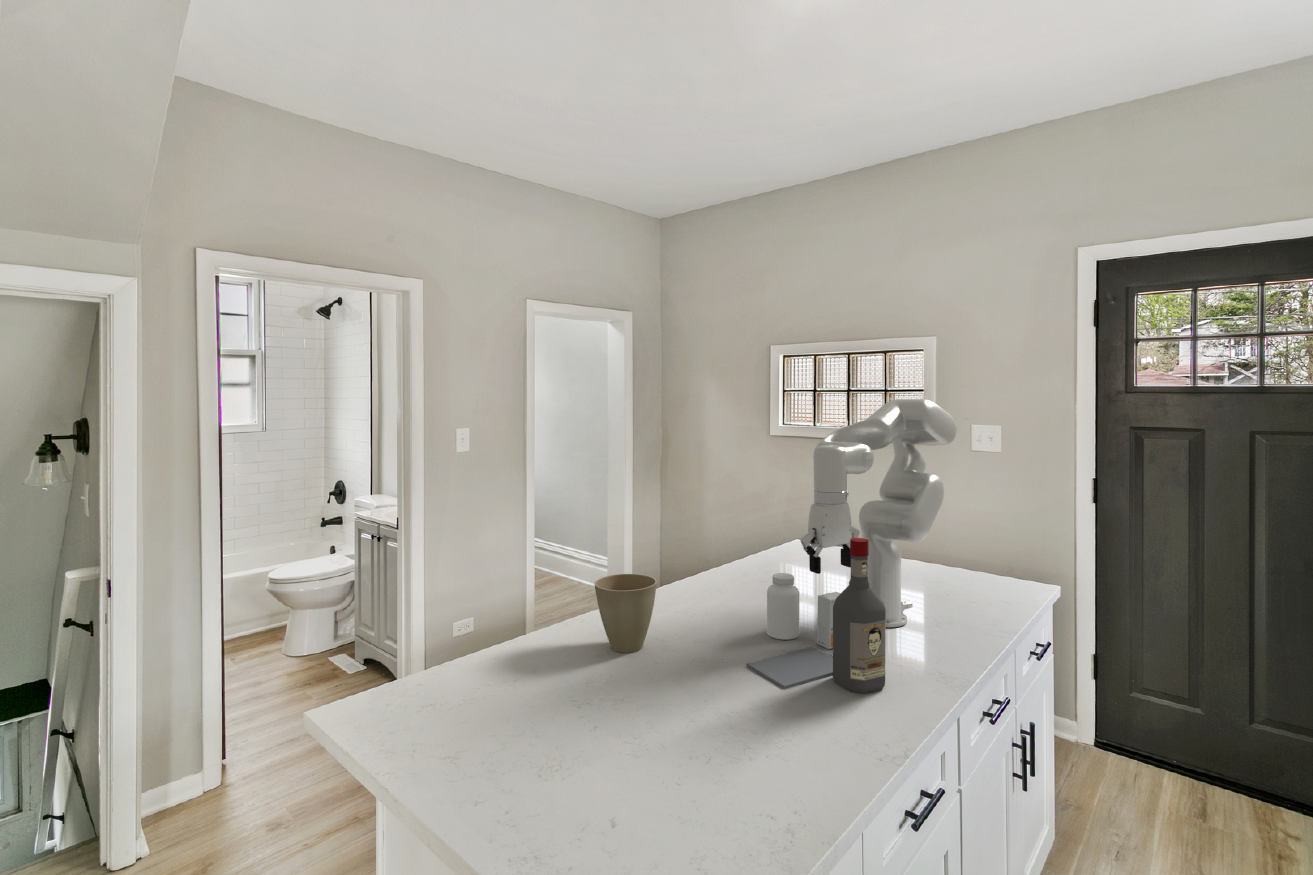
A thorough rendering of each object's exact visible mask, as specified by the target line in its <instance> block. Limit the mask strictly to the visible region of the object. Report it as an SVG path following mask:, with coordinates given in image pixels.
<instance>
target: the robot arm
mask: <svg viewBox="0 0 1313 875" xmlns="http://www.w3.org/2000/svg"><path fill="white" fill-rule="evenodd" d="M956 435H957V424H956V421H955V419H954V418H953V416H952V415H951V414H950V413H949V412H947V411H946V410H945V409H943V408H942V407H941V406H940V405H938V404H936V403H935V402H933V401H931V400H929V399H924V398H920V399H919V398H916V399H915V398H904V399H902V398H899V399H891V400H889V401H886V403H884V404H883V405H882V406H881V407H879V408H878V409H877V410H876V411H874V412H873V414H871V415H869V416H868V418H866V419H864V420H861V421H858V422H854V423H852V424H848V425H846V426H844V427H840V428H838V429H836V430H834V431H832V432H830V433H829V434H827V435H826V436H824V438H822V439H821V440H820V441H819V442H818V443H817V445H816V446H815V448H814V449H813V455H812V456H813V458H812V459H813V503H811V505H810V510H809V515H808V526H807V533H805V535H803V536H802V537H801V538H800V542H801V546H802V548H803V550H804V551H805V552H806V554H807V555H808V556H809V557H808V559H809V560H808V561H809V565H808V566H809V571H810V572H811V573H815V574H817V575H820V574H821V573H822V566H821V565H822V562H821V561H822V560H821V559H822V558H821V556H820V554H821V552H822V550H823V549H825V548H827V549H828V548H834V547H837V546H841V547H842V548H840V565H842V566H844V567H847V568H850V569H851V555H850V539H852V538H859V535H860V534H861V538H864V539H868V540H869V556H868V581H869V586H870V587H871V589H872V590H873V591H874V592H875V593H876V594H877V595H878V597H879V598H880V599H881V600H882V601H883V602H884V605H885V607H886V628H896V627H897V628H898V627H903V626H904V625H906V624H907V622H908V617H907V615H906V614H904V611H905V610H908V609H911V608H913V602H912V601H910V600H908V601H902V554H901V550H900V547H899V546H898V544H897V542H896V541H901V542H910V543H920V542H923V541H924V540H925V539H926V538H927V536H928V534H929V533H930V530H931V528H932V526H933V524H934V522H935V520H936V517H937V515H938V513H939V511H940V509H941V507H942V503H943V501H944V496H945V487H944V486H945V485H944V483H943V480H942V479H941V478H940V477H939V476H938V475H936V474H934V473H927V472H925V470H926V468H927V464H926V460H925V458H924V456H923V454H922V453H921V452H920V450H918V448H917V445H926V446H927V445H928V446H947V445H949V444H951V443H952V442H953V441H954V440H955V438H956ZM891 443H892V445H893V450H894V451H893V452H894V456H893V457H894V458H893V461H892V462H891V464H890V466H889V467H888V471H887V472H886V474H885V475H884V477H883V480H882V482H881V484H880V486H879V497H880V499H881V500H878V499H877V500H869V501H867V502H865V503H864V504H863V505H862V506H861V507H860V509H859V513H858V522H859V527H860V530H859V529H857V528H856V527H853V526H852V518H851V511H850V506H849V503H848V497H849V496H850V494H849V491H848V475H861V474H865V473H866V472H868V471H869V470H870V469H871V467H872V466H873V464H874V459H875V455H874V452H873V451H875V450H880V449H883V448H885V447H888V446H889V445H890V444H891Z"/></svg>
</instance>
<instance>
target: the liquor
mask: <svg viewBox="0 0 1313 875" xmlns="http://www.w3.org/2000/svg"><path fill="white" fill-rule="evenodd" d="M850 555H851V567H850V580H849V581H848V586H846V587H845V589H844V590H842V592H840V593H841V594H840V595H839V596H838V597H837V598H836V600H835V603H834V605H833V648H832V656H833V675H832V679H833V681H834V683H836V684H837V685H839V686H840V687H842V688H844V689H846V690H847V691H849V692H850V693H856V694H867V693H871V692H876V691H880V690H883V689H884V687H885V685H886V644H887V642H886V641H887V640H886V638H887V637H886V633H887V632H886V628H887V627H886V607H885V605H884V602H883V601H882V600H881V599H880V598H879V597H878V595H877V594H876V593H875V592H874V591H873V590H872V589H871V587H870V586H869V581H868V556H869V540H868V539H864V538H862V537H858V538H852V539H850Z"/></svg>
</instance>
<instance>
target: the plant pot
mask: <svg viewBox="0 0 1313 875" xmlns="http://www.w3.org/2000/svg"><path fill="white" fill-rule="evenodd" d="M657 580H658V579H656V578H655V577H653V576H650V575H647V574H642V573H641V574H639V573H619V574H611V575H606V576H602V577H600V578H598V579H596V580H595V581H594V592H595V597H596V602H597V606H598V611H599V614H600V618H601V622H602V625H603V626H602V627H603V629H604V630H605V635H606V637H607V640H608V643H609V645H610V648H611V649H612V650H613V651H615V652H617V653H618V652H619V653H634V652H638V651H640V650H641V649H642V648H643V646H644V643H645V640H646V637H647V634H648V630H649V627H650V624H651V620H652V615H653V611H654V606H655V601H656V600H655V598H656V591H657Z"/></svg>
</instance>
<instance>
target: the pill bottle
mask: <svg viewBox="0 0 1313 875" xmlns="http://www.w3.org/2000/svg"><path fill="white" fill-rule="evenodd" d="M771 580H772V581H771V582H772V584H771V585H769V586H768V588H767V590H766V635H768V636H769V637H770V638H773V639H777V640H782V641H783V640H785V641H786V640H788V641H789V640H794V639H797V638H798V637H799V635H800V634H799V633H800V591H799V588H798V587H797V586H795V576H794V575H793V574H790V573H787V572H778V573H777V572H776V573H774V574H772V579H771Z"/></svg>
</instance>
